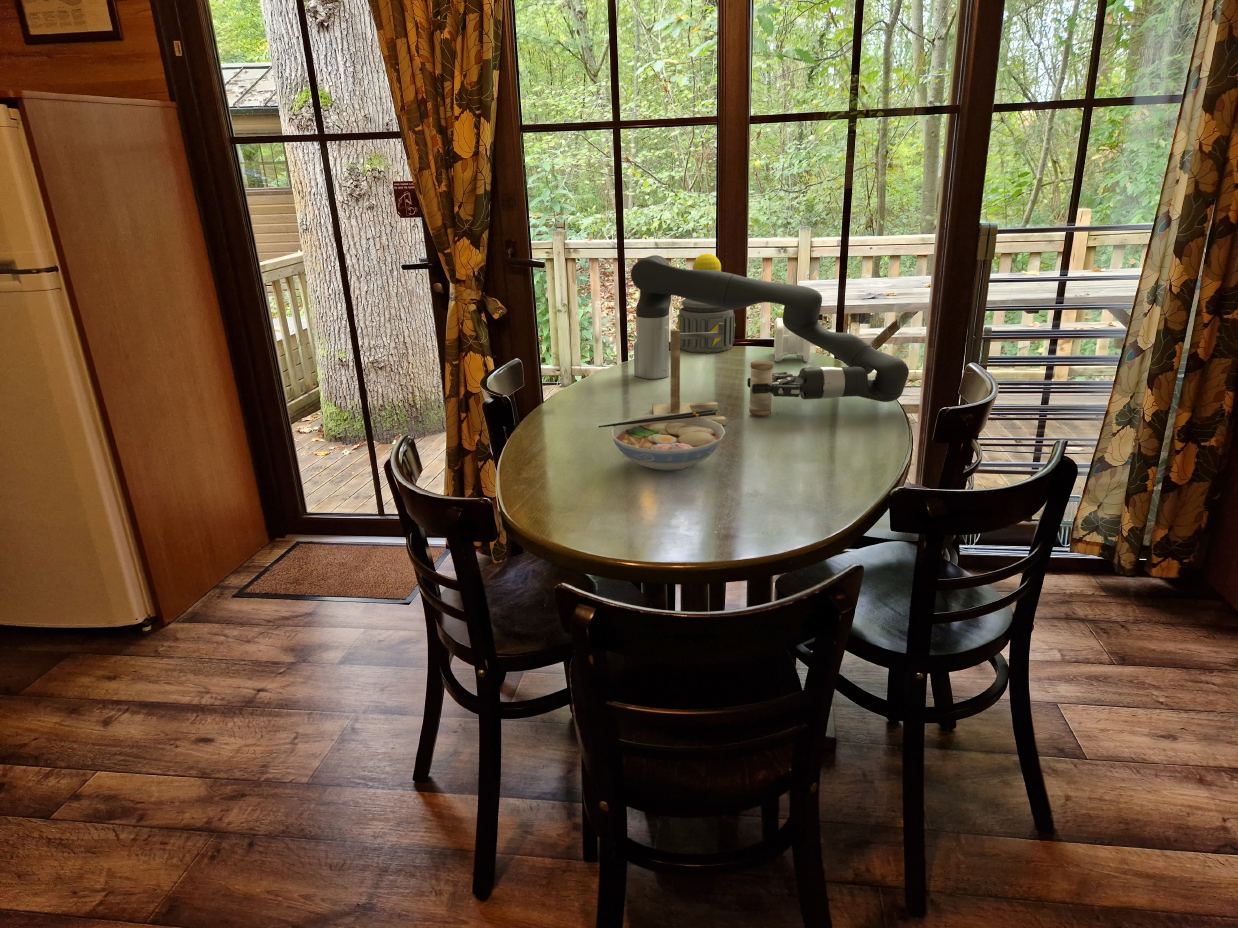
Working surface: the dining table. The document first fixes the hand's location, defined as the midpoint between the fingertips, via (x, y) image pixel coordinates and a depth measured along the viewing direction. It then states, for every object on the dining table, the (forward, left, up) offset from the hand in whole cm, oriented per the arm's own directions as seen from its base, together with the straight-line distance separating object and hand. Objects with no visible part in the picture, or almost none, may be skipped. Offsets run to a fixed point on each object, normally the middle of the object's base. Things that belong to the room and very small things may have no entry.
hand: (750, 385), depth 185 cm
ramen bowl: (-4, -38, -8) cm, 39 cm away
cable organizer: (-8, +61, -8) cm, 62 cm away
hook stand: (-13, -7, -7) cm, 16 cm away
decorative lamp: (-38, +66, -8) cm, 76 cm away
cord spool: (+2, +1, -7) cm, 7 cm away
